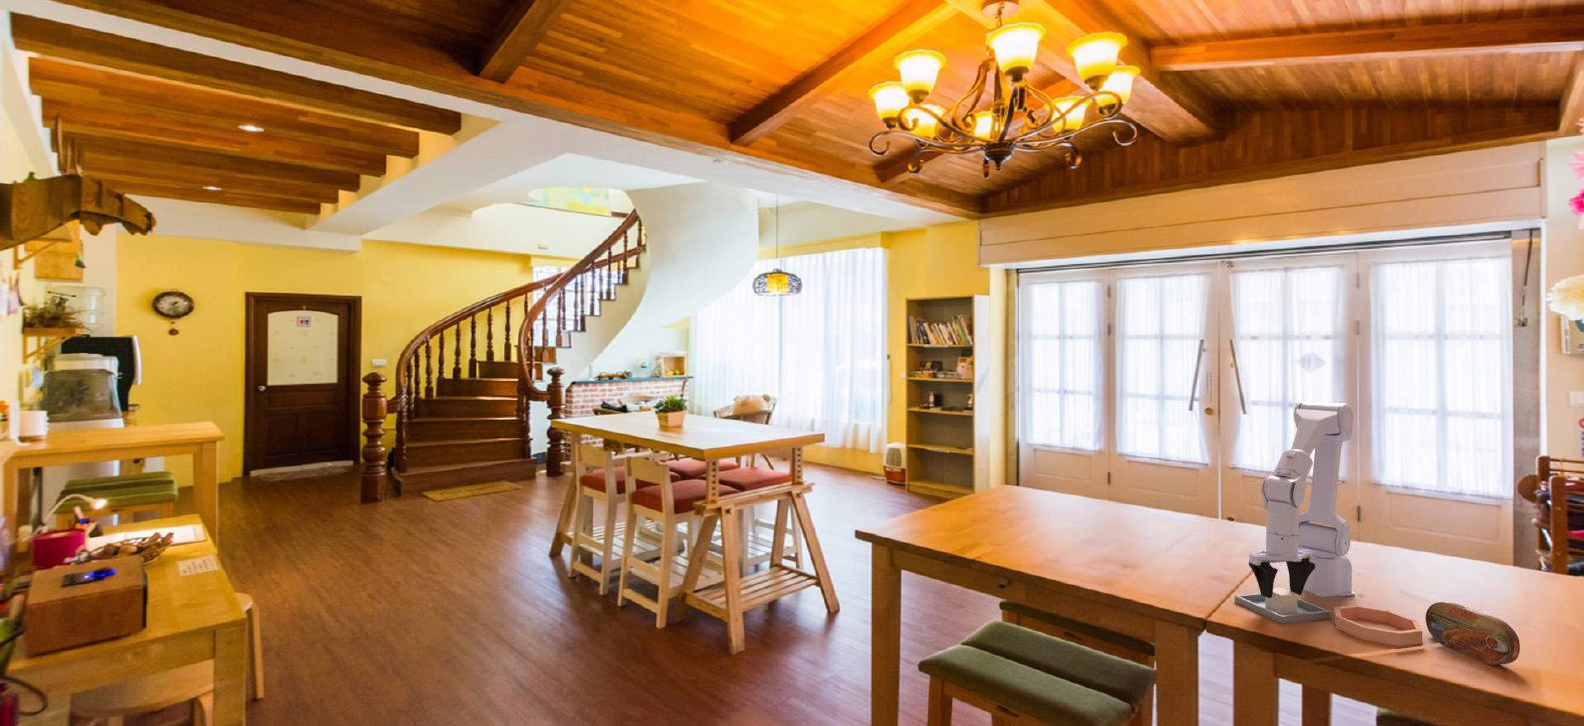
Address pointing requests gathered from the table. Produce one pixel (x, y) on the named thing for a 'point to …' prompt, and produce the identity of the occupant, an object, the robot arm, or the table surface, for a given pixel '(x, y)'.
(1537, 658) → the table surface
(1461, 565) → the table surface
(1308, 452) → the robot arm
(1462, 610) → the tin
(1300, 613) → the parts tray
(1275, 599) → the beige cube
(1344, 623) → the bowl
